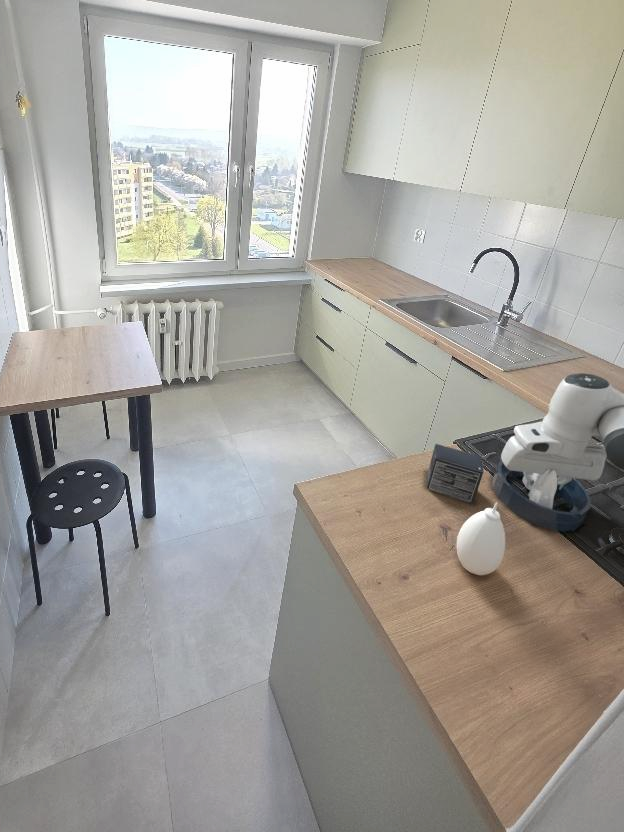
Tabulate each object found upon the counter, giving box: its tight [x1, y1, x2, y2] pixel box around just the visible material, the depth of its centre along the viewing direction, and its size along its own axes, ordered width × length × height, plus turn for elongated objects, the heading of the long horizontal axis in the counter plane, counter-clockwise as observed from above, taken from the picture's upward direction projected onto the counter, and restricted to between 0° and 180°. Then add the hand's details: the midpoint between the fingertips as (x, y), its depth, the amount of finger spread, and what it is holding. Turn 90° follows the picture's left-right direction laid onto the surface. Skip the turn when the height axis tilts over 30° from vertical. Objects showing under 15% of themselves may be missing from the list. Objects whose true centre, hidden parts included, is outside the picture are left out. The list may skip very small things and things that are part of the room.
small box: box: [426, 443, 485, 504], centre depth 101 cm, size 11×6×10 cm, turn 66°
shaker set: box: [524, 469, 557, 509], centre depth 99 cm, size 12×4×11 cm, turn 153°
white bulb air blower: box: [456, 501, 506, 576], centre depth 81 cm, size 8×8×18 cm
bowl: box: [491, 458, 592, 532], centre depth 100 cm, size 18×18×6 cm
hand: (540, 485), depth 99 cm, fingers closed on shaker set, 5 cm apart
